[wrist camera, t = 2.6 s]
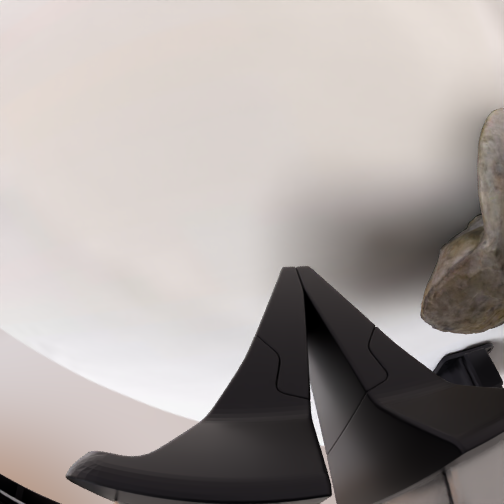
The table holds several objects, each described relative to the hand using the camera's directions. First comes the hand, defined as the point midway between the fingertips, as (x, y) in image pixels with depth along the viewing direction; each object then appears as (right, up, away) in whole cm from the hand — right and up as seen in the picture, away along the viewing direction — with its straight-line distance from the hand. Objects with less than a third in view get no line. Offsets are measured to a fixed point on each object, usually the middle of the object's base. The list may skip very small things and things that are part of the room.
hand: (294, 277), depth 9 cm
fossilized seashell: (+11, +3, +3) cm, 11 cm away
